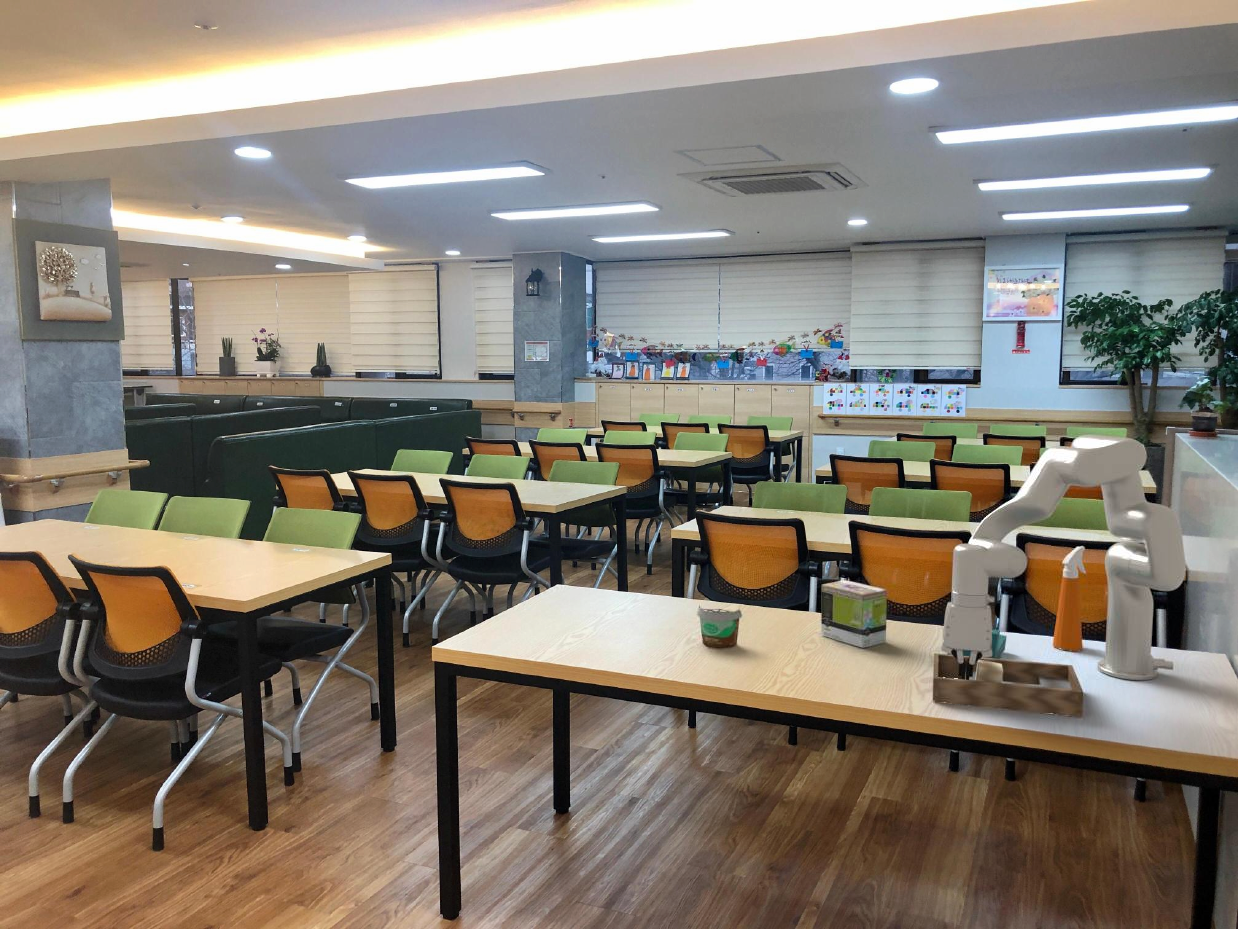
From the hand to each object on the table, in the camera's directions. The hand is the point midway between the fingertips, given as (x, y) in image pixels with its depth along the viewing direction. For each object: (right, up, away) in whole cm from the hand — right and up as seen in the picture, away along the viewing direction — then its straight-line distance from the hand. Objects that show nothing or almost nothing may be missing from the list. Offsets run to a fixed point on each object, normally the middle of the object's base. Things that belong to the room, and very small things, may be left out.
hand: (965, 679), depth 206 cm
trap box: (+9, -4, +1) cm, 10 cm away
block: (+4, -1, -1) cm, 5 cm away
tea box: (-14, 0, +44) cm, 46 cm away
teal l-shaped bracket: (+12, -1, +26) cm, 29 cm away
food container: (-52, -1, +39) cm, 65 cm away
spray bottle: (+41, 0, +35) cm, 54 cm away
